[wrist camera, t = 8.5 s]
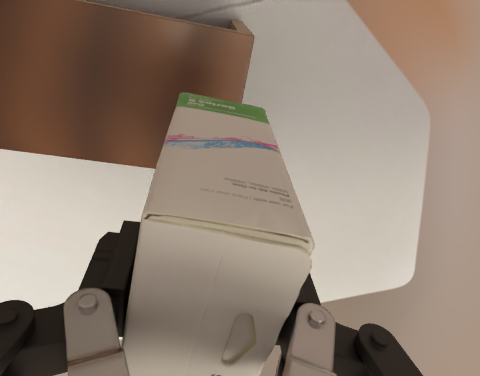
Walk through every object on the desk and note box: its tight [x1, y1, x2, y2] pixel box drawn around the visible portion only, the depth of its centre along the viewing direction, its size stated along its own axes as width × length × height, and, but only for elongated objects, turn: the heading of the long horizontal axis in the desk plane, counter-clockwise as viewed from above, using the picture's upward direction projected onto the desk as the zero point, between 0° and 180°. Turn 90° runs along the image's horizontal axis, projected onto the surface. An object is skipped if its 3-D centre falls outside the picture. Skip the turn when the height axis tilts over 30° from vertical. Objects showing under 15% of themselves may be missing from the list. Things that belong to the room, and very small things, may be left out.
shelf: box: [0, 0, 254, 169], centre depth 29 cm, size 22×12×15 cm, turn 79°
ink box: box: [121, 93, 314, 376], centre depth 16 cm, size 9×5×12 cm, turn 166°
